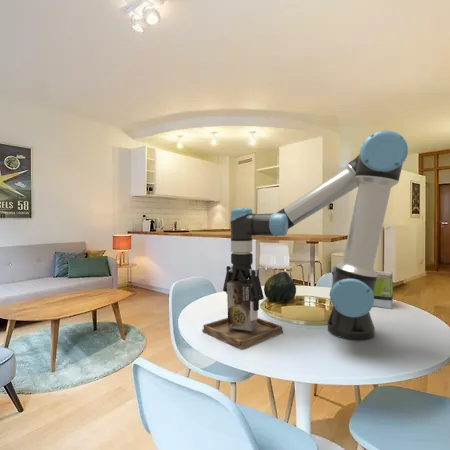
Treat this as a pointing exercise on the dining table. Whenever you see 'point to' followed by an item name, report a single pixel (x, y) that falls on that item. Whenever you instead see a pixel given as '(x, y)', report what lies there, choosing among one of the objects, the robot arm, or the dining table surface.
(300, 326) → the dining table surface
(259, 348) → the dining table surface
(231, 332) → the walnut tray
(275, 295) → the squash
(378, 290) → the tea box
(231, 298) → the coffee box
